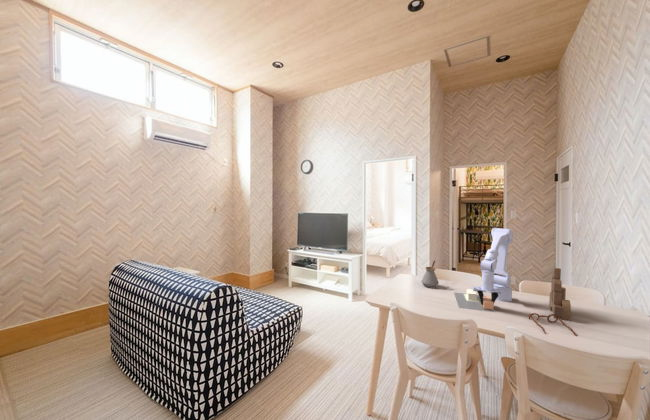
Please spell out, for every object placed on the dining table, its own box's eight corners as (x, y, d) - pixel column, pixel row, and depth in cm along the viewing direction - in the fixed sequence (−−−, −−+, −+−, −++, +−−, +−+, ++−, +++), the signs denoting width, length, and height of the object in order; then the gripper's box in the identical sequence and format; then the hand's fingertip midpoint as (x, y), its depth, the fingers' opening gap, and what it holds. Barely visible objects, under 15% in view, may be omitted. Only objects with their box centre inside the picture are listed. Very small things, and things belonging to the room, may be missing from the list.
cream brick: (474, 295, 165) (474, 289, 165) (476, 300, 157) (476, 294, 157) (466, 295, 166) (466, 288, 166) (468, 299, 159) (468, 293, 159)
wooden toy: (571, 321, 134) (573, 273, 132) (554, 318, 137) (556, 271, 136) (564, 309, 147) (566, 265, 145) (548, 307, 150) (550, 264, 149)
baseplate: (485, 297, 165) (485, 295, 165) (495, 314, 142) (495, 312, 142) (453, 293, 171) (453, 292, 171) (458, 309, 149) (459, 307, 149)
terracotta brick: (489, 303, 152) (490, 297, 152) (493, 309, 145) (493, 302, 144) (481, 302, 154) (481, 296, 153) (484, 308, 146) (484, 301, 146)
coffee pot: (436, 289, 179) (437, 268, 178) (419, 286, 185) (419, 265, 184) (442, 281, 196) (442, 261, 195) (426, 278, 203) (426, 259, 202)
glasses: (556, 323, 133) (557, 313, 133) (577, 337, 120) (577, 326, 120) (528, 321, 135) (528, 312, 135) (544, 335, 122) (545, 324, 122)
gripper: (474, 282, 147) (473, 305, 148) (504, 284, 142) (504, 309, 143) (472, 278, 153) (471, 300, 154) (501, 280, 148) (500, 304, 149)
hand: (487, 304), depth 149 cm, fingers closed on terracotta brick, 4 cm apart
